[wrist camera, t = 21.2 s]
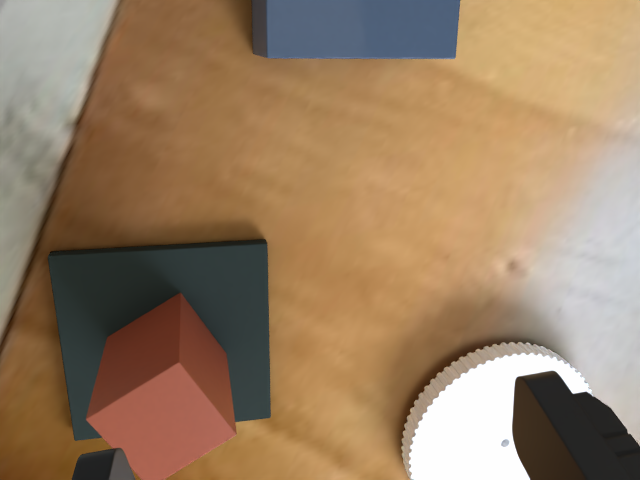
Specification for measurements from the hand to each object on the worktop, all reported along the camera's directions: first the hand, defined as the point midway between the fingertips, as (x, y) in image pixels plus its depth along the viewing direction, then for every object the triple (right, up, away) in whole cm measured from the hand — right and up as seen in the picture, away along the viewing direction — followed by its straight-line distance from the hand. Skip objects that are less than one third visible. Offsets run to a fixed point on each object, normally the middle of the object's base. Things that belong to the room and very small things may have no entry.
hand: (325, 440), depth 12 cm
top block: (-9, -2, +23) cm, 25 cm away
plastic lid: (+12, -9, +32) cm, 35 cm away
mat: (-9, -2, +24) cm, 26 cm away
